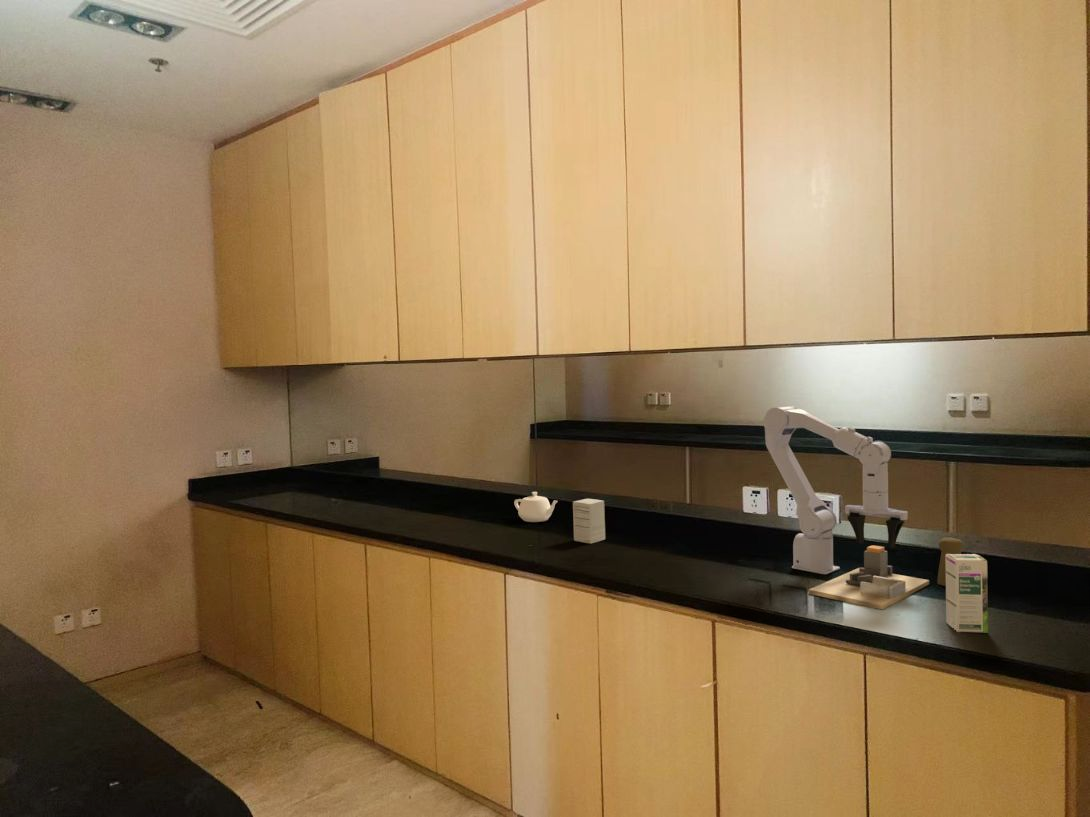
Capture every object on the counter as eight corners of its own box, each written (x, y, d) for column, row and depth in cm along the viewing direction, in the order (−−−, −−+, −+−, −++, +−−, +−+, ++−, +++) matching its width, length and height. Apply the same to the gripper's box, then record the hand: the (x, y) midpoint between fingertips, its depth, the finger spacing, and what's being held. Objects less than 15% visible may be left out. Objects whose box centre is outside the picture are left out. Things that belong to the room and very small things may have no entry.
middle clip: (860, 585, 173) (860, 577, 173) (849, 581, 176) (849, 573, 176) (872, 583, 174) (872, 575, 174) (861, 580, 177) (861, 571, 177)
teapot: (568, 519, 267) (567, 491, 266) (547, 525, 257) (546, 496, 256) (525, 514, 279) (525, 488, 278) (504, 520, 269) (503, 492, 269)
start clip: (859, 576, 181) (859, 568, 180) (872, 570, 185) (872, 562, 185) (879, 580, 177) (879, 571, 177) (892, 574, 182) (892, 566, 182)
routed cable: (844, 583, 174) (844, 579, 174) (859, 576, 180) (859, 572, 180) (877, 590, 169) (877, 586, 169) (892, 582, 174) (892, 578, 174)
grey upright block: (856, 573, 183) (856, 546, 182) (863, 570, 185) (863, 543, 185) (880, 578, 178) (880, 549, 178) (887, 575, 181) (887, 547, 181)
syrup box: (956, 632, 144) (956, 559, 143) (945, 622, 149) (945, 552, 149) (988, 633, 143) (988, 560, 142) (975, 623, 148) (975, 552, 148)
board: (808, 593, 171) (808, 589, 171) (859, 571, 188) (859, 567, 188) (882, 609, 158) (882, 605, 158) (929, 584, 176) (929, 580, 176)
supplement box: (588, 536, 238) (587, 498, 237) (605, 539, 232) (605, 500, 232) (573, 540, 232) (572, 501, 232) (590, 544, 227) (589, 503, 226)
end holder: (860, 593, 167) (860, 582, 167) (874, 586, 172) (874, 575, 172) (891, 599, 162) (891, 588, 162) (905, 592, 167) (905, 581, 167)
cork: (939, 578, 180) (939, 534, 180) (967, 582, 176) (967, 537, 176) (934, 584, 175) (934, 539, 175) (962, 588, 172) (962, 542, 171)
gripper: (839, 490, 183) (839, 543, 183) (898, 495, 172) (899, 553, 173) (852, 486, 188) (852, 539, 188) (911, 492, 177) (911, 547, 177)
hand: (875, 545), depth 181 cm, fingers open, 7 cm apart
